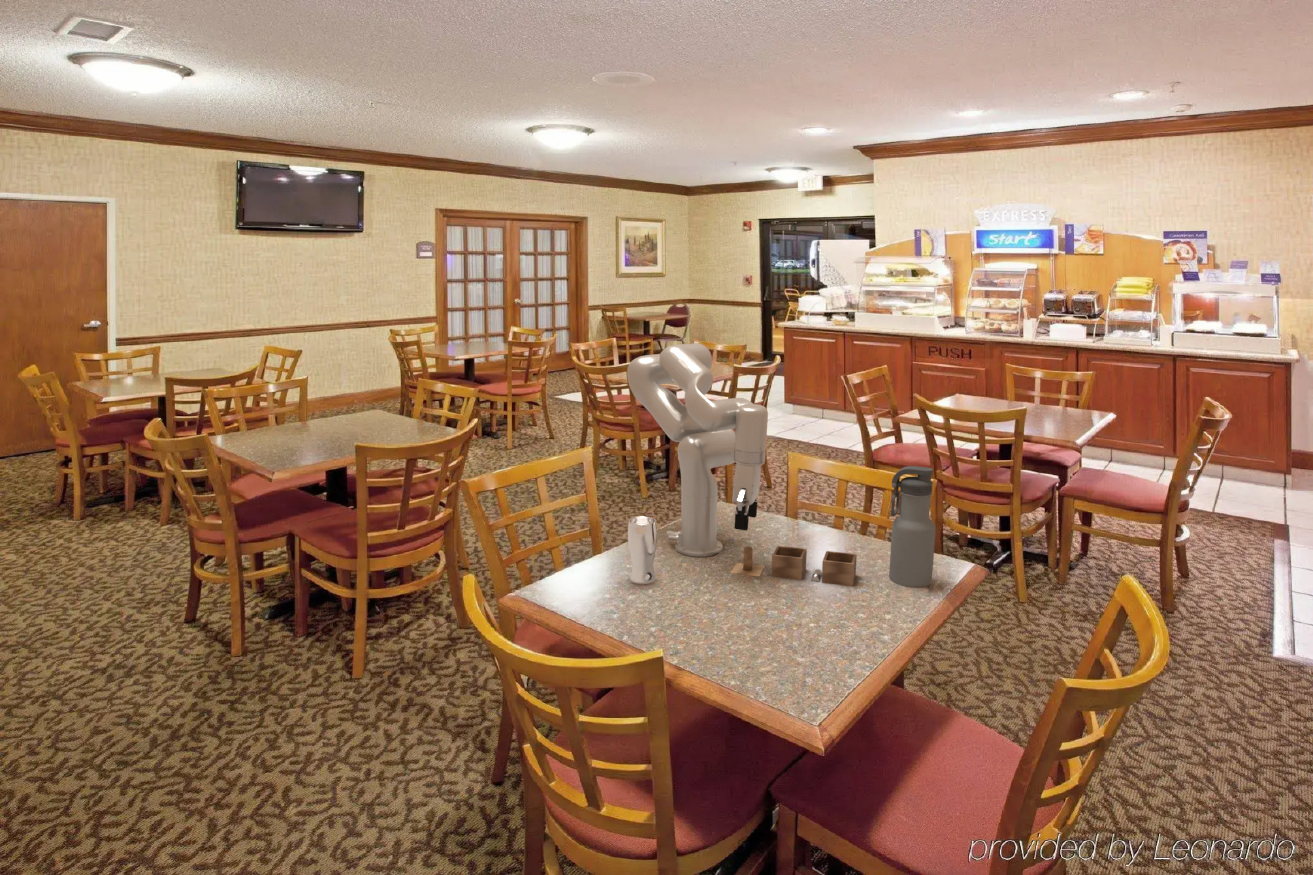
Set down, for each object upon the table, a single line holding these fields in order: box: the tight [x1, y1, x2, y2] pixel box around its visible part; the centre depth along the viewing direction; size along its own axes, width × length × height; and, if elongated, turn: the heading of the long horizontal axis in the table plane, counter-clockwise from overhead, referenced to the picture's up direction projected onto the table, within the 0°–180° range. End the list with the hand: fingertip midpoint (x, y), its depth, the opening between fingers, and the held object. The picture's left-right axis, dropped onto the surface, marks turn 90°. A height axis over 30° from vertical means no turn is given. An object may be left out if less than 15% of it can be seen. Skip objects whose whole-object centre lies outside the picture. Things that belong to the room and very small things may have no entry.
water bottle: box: [888, 465, 936, 588], centre depth 188 cm, size 10×10×28 cm
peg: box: [810, 568, 822, 583], centre depth 192 cm, size 5×2×2 cm
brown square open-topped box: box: [821, 550, 858, 587], centre depth 191 cm, size 7×7×6 cm
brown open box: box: [771, 545, 808, 581], centre depth 195 cm, size 7×7×6 cm
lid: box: [730, 545, 766, 578], centre depth 197 cm, size 7×7×7 cm
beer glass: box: [627, 516, 658, 585], centre depth 191 cm, size 7×7×15 cm
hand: (745, 522), depth 196 cm, fingers open, 9 cm apart
